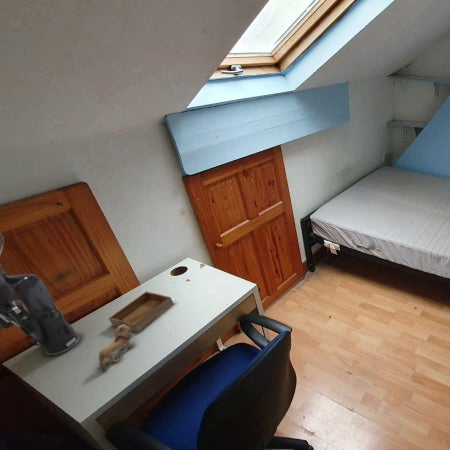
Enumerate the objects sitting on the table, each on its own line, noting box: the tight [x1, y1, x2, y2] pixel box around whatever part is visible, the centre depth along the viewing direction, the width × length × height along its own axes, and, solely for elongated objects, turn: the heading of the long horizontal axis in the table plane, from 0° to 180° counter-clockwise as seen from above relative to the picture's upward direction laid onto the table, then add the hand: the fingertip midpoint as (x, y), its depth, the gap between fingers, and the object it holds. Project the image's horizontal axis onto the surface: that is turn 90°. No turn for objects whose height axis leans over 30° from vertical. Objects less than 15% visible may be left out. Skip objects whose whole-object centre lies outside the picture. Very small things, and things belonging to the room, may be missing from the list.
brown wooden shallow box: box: [108, 290, 175, 334], centre depth 129 cm, size 13×16×4 cm
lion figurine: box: [98, 324, 134, 373], centre depth 111 cm, size 15×5×9 cm, turn 1°
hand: (20, 329), depth 86 cm, fingers open, 8 cm apart
